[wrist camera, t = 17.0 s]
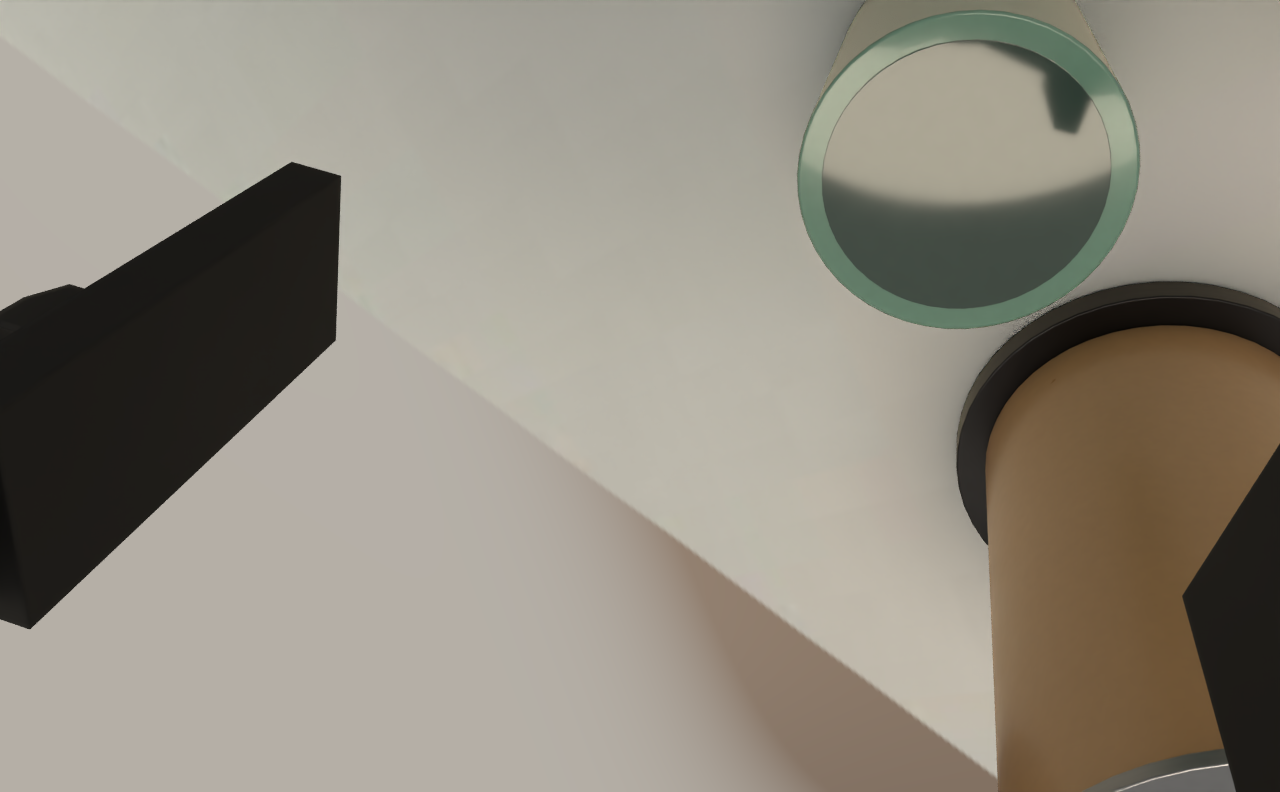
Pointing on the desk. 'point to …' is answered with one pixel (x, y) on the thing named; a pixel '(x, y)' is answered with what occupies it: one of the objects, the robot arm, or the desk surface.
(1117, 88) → the tumbler
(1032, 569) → the tan and grey cylinder
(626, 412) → the desk surface
